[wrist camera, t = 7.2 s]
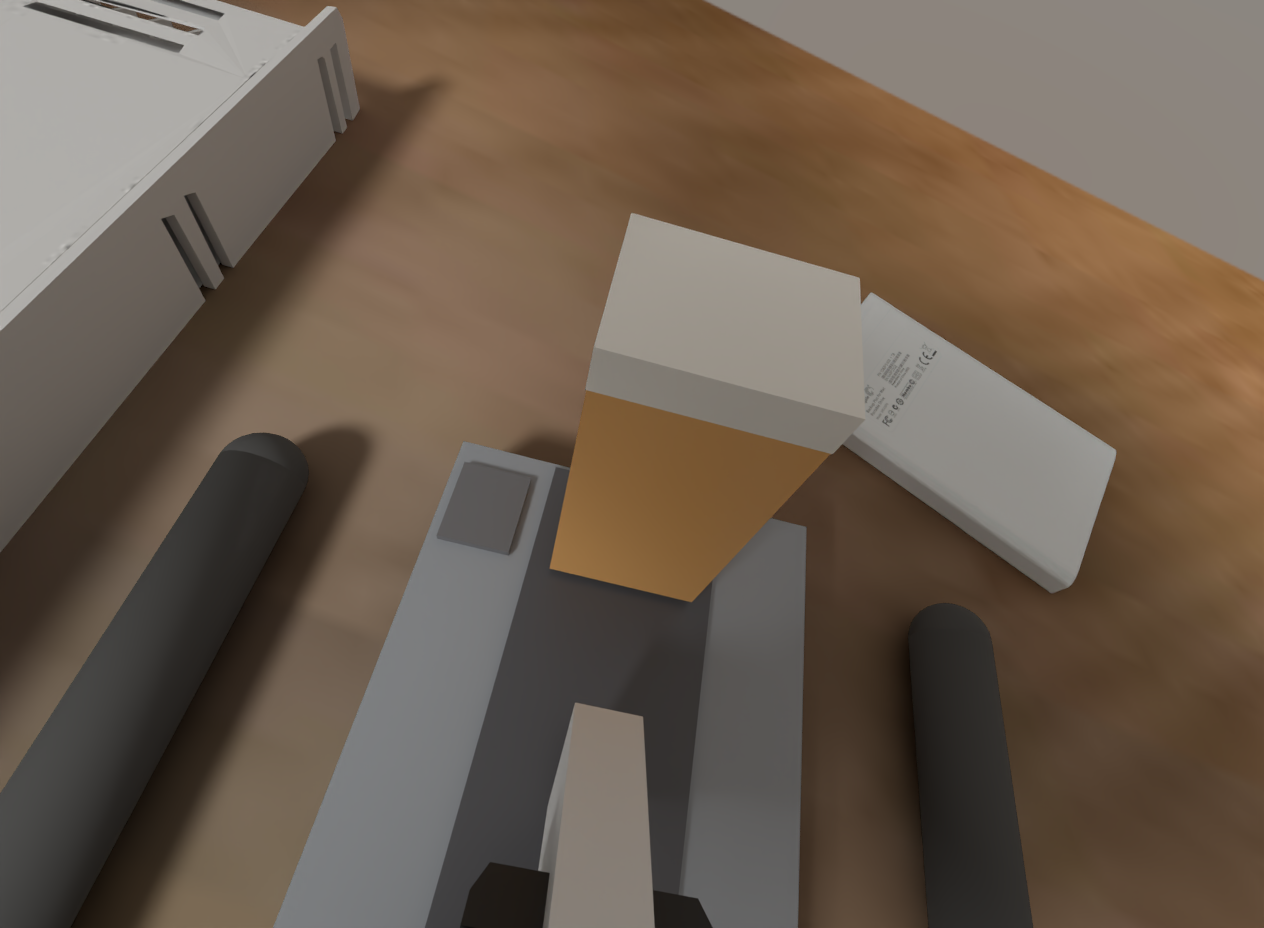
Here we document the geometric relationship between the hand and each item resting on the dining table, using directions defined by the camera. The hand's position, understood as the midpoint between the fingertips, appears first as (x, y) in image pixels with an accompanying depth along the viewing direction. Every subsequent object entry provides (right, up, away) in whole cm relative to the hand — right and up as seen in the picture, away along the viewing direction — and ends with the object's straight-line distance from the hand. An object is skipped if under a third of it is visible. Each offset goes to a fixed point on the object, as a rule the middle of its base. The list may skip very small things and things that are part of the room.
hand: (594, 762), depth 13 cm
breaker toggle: (+1, +4, +4) cm, 6 cm away
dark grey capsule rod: (+10, -3, +5) cm, 12 cm away
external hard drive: (+14, +8, +13) cm, 21 cm away
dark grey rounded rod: (-12, 0, +2) cm, 12 cm away
